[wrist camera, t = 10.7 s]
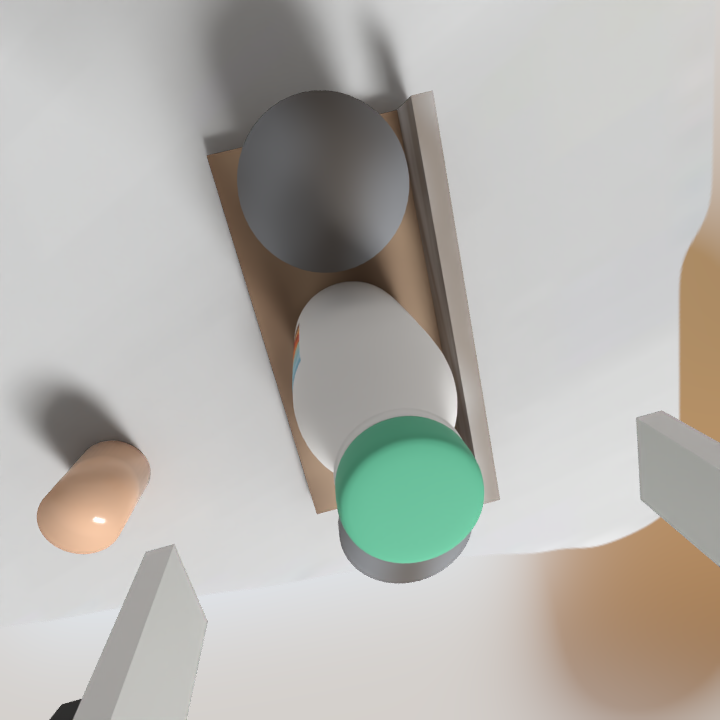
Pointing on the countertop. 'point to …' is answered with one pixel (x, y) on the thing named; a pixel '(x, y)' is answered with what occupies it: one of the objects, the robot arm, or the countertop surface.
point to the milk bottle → (384, 424)
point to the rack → (353, 252)
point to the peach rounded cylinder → (94, 498)
